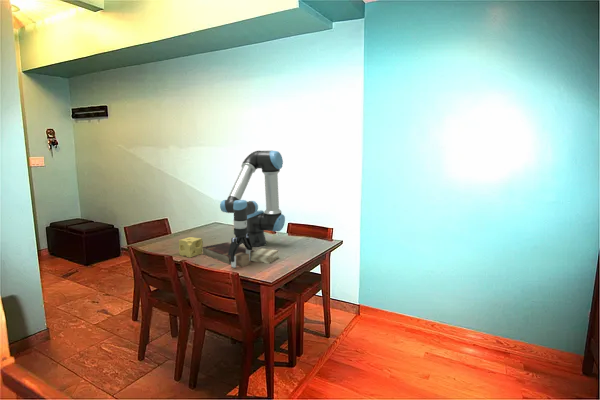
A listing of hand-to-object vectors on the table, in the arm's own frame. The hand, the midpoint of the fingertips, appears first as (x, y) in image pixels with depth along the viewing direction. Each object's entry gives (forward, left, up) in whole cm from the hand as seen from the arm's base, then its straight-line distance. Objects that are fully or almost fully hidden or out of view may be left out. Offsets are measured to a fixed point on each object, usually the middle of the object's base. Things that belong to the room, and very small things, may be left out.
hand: (241, 263), depth 202 cm
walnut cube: (+1, 0, 0) cm, 1 cm away
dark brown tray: (-16, +9, -1) cm, 19 cm away
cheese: (-39, 0, 0) cm, 39 cm away
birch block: (+7, +14, -1) cm, 16 cm away
